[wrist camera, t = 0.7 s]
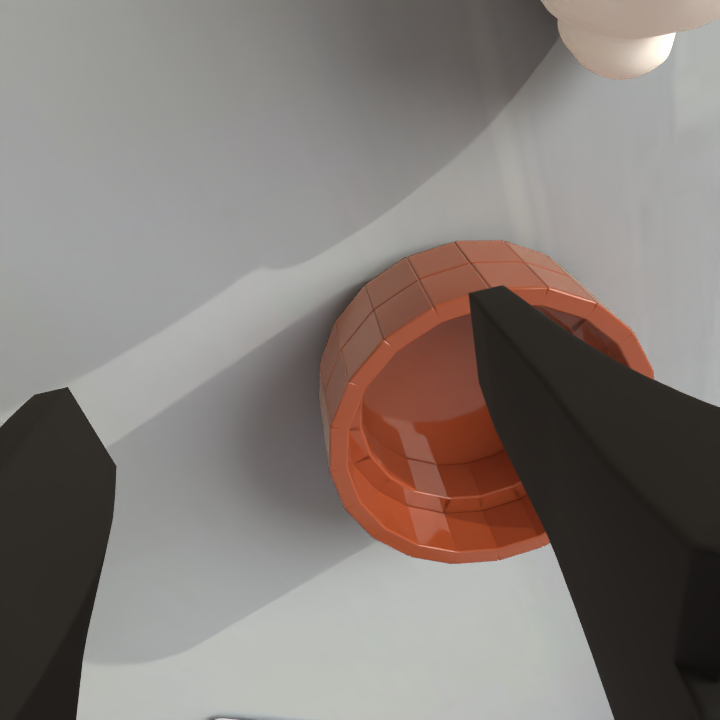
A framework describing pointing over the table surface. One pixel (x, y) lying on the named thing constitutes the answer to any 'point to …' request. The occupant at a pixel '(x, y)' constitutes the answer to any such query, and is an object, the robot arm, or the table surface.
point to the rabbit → (626, 31)
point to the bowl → (441, 400)
